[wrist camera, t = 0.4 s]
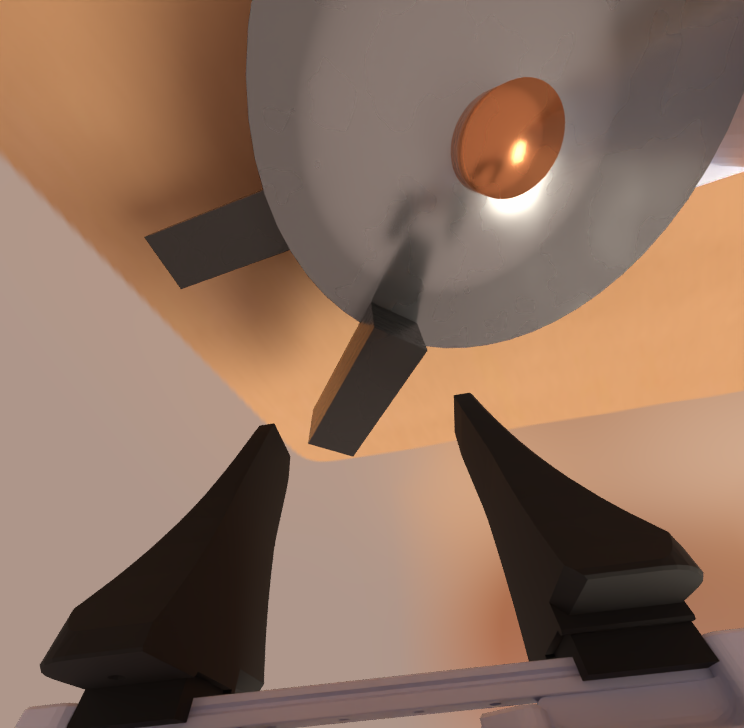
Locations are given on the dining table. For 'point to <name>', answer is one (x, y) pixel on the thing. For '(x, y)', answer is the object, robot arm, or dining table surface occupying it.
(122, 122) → the dining table surface
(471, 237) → the cooker lid
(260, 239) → the cooker pot
